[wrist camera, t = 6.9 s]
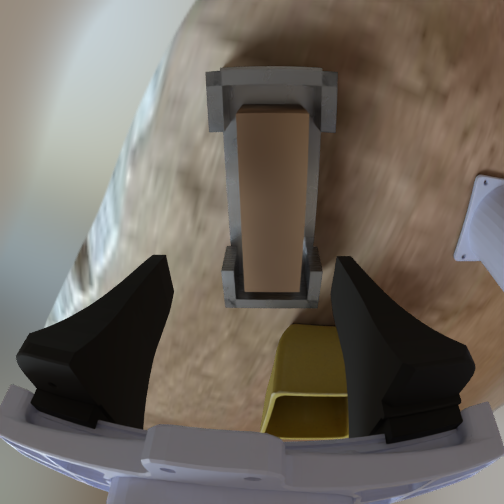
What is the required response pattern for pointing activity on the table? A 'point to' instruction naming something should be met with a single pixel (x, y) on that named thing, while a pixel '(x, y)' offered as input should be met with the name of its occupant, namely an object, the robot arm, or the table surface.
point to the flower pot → (307, 386)
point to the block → (272, 193)
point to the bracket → (224, 120)
